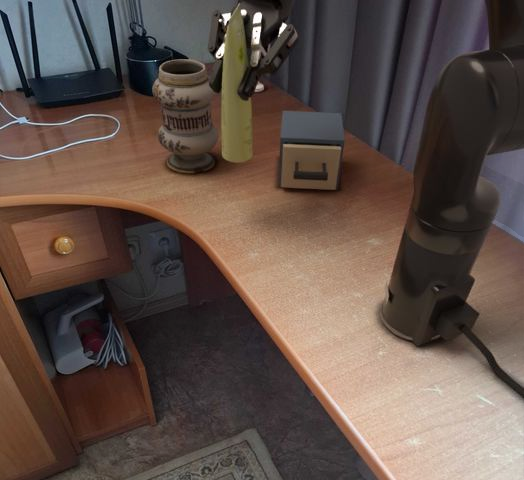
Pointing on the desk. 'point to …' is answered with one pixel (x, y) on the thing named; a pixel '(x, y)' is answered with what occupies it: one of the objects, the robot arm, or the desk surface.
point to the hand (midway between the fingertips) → (228, 93)
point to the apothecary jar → (186, 115)
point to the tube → (235, 95)
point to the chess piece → (259, 87)
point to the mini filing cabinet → (311, 132)
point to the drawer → (310, 165)
